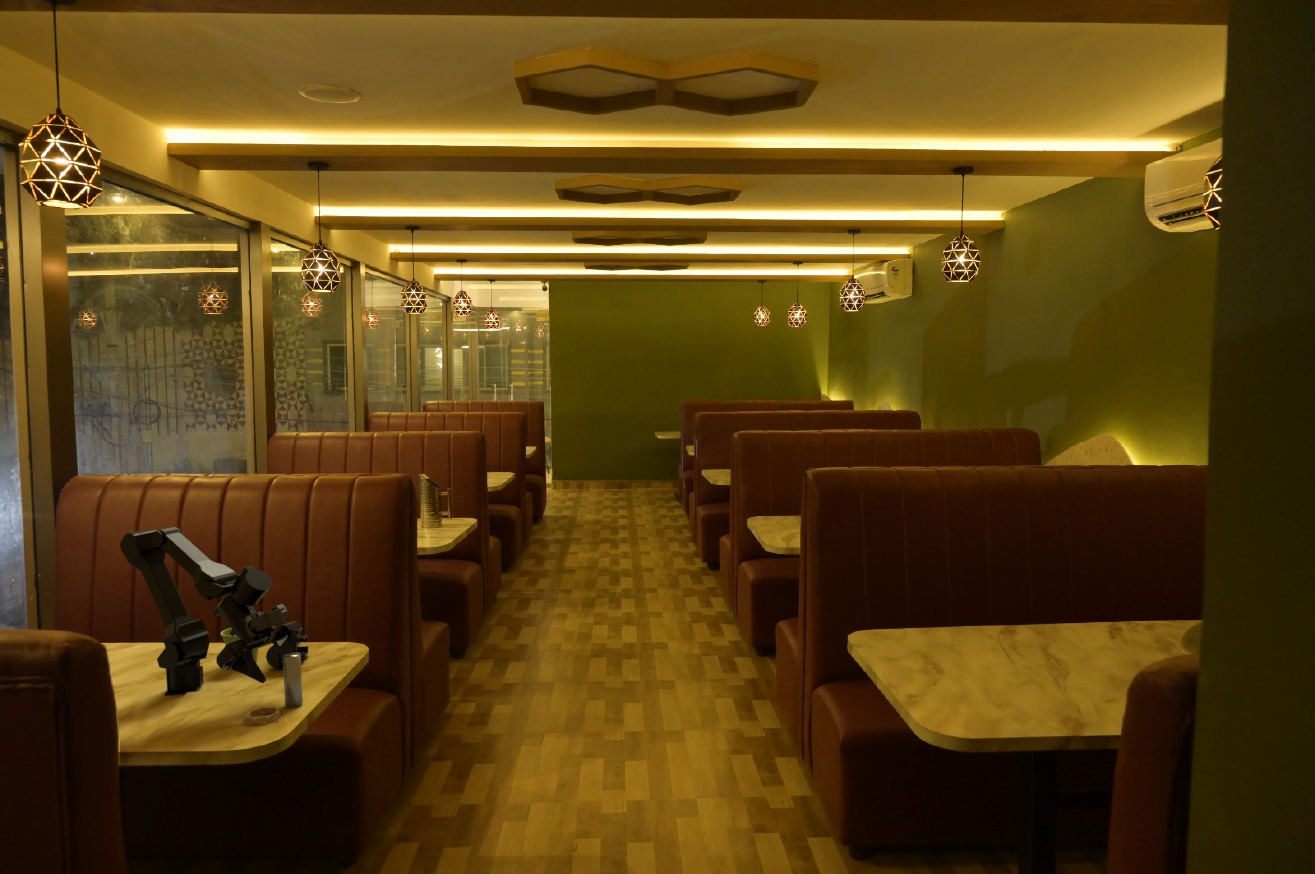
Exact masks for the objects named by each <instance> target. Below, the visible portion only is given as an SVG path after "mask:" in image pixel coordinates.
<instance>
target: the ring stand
mask: <svg viewBox="0 0 1315 874" xmlns="http://www.w3.org/2000/svg"><path fill="white" fill-rule="evenodd" d="M284 711H285V710H284V709H283V710H281V708H280V707H277V706H274V705H268V706H260V707H256V708H254V709H251V710H249V711H247V712H246V713H245V715H244V719H245V720H244V722H242V725H241V727H248V726H257V725H258V726H259V725H269V724H278V723H279V721H280V720H281V717H282V715H283V713H284Z"/></svg>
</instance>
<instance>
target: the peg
mask: <svg viewBox="0 0 1315 874" xmlns="http://www.w3.org/2000/svg"><path fill="white" fill-rule="evenodd" d="M282 672H283V689H284V690H283V691H284V708H285V709H288V710H292V709H297V708H301V707H302V706H303V705H304V701H303V700H304V699H303V697H304V696H303V680H302V679H303V675H302V665H301V654H300V653H289V654H285V655H284V656H283V670H282Z"/></svg>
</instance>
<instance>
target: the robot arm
mask: <svg viewBox="0 0 1315 874" xmlns="http://www.w3.org/2000/svg"><path fill="white" fill-rule="evenodd" d="M119 549H120V550H121V552H122V554H123V556H124V557H125V559H126V561H127V562H128V564H129V565H131V566H133V567H134V568H136V569H138V570H139V571H140V572H141V573H142V576H143V578H144V581H145V583H146V585H147V587H148V589H149V591H150V595H151V596H152V598H153V600H154V603H155V605H156V607H157V609H158V612H159V615H160V616H161V619H162V621H163V623H164V626H165V629H164V635H163V639H162V640H163V644H164V649H163V650H162V651H161V653H160V654H159V655H158V656H157V658H156V662H157V664H158V668H160V669H163V670H164V669H165V674H166V676H165V677H166V690H165V691H164V692H163V693H164V695H165V696H169V695H179V694H187V693H195V692H197V691H198V690H199V689H200V688H201V687H202V686H203V684H204V667H203V665H201V660H204V659H207V656H208V652H209V648H210V643H211V642H210V633H209V632H208V631H207V629H206V626H205V622H204V621H203V620H202V619H201V618H200V619H196V620H195V619H193V618H192V617H191V616H190V615H189V613H188V610H187V609H186V607H185V604H184V601H183V600H182V598H181V594H180V593H179V590H178V589H177V586H176V584H175V582H174V579H173V578H172V575H171V572H170V571H169V569H168V566H167V564H166V556H167V555H168V557H170V558H171V559H172V560H174V561H175V562H176V563H177V564H178V565H179V566H180V567H181V568H182V569H183V570H184V571H186V573H188V574H189V575H190V576H191V577H192V578H193V587H194V588H195V590H196V591H197V593H199V595H200V596H201V597H202V598H203V599H204V600H206V601H213V600H216V599H220V598H223V599H222V600H221V601H219V602H216V603H215V605H214V610H213V612H212V613H213V616H214V617H217V616H221V615H222V617H223V618H224V619H225V620H226V622H227V623H228V625H229V628H232V631H231V632H230V634H231V636H235V635H237V637H238V638H239V640H238V641H235V642H232V643H229V644H227V645H225V646H224V647H223V649H221V650H220V652H218V654H217V655H216V660H215V661H216V664H217V666H218V667H219V669H220V670H225V669H226V670H228V671H235V672H237V673H240V674H242V675H244V676H247V677H249V678H250V679H253V680H254V681H257V682H259V683H261V684H264V683H266V681H267V679H266V676H265V675H264V672H263V671H262V670H261V668H260V666H258V664H257V662H255V661H254V659H253V654H252V651H253V650H256V649H258V650H259V649H261V648H264V647H266V646H269V645H273V644H274V646H276V647H279V648H278V649H277V651H278V652H279V653H280V654H281V655H282V656H284V655H285V654H289V653H297V649H296V639H297V637H298V636H299V635H301V634H300V633H301V631H302V630H303V626H302V625H301V624H300V623H299V621H296V620H292V621H290V622H287V623H285V622H286V618H288V617H289V616H290V615H289V610H288V609H287V607H286V606H285V605H284V604H283V603H281V604H278V605H275V606H273V607H272V608H271V611H267V612H265V613H264V612H263V611H261V610H260V611H256V609H255V607H253V606H255V605H257V604H258V603H259V601H260V600H261V599H262V598H263V596H265V594H266V593H267V592H268V591H269V589H270V588H271V587H272V584H273V581H272V578H271V576H270V575H269V574H267V573H266V572H264V571H263V570H259V569H255V567H254V566H253V565H251V566H247V567H244V568H243V570H242V571H241V572H240V574H237V572H236V571H235V570H233V569H231V567H228V566H227V565H225V564H222V563H218V562H214V561H213V560H211V559H210V558H209V557H207V555H205V554H204V553H203V552H202V551H201V550H200V549H199V548H198V547H196V546H195V544H193V542H191V541H190V540H189V539H188V538H186V536H184V535H183V532H182V531H181V529H180V528H178V527H175V526H174V527H173V526H171V527H170V526H169V527H166V528H159V529H156V528H150V529H149V528H148V529H142V530H139V531H138V530H137V531H133V532H127V533H126V534H124V535H123V537H122V539H121V541H120V543H119ZM281 623H282V624H281ZM279 624H281V625H280V626H279V627H278V629H277V630H276V628H277V627H276V626H277V625H279ZM275 630H276V631H275ZM274 631H275V632H274ZM272 632H274V633H272Z"/></svg>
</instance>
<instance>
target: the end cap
mask: <svg viewBox="0 0 1315 874" xmlns="http://www.w3.org/2000/svg"><path fill="white" fill-rule="evenodd" d="M308 641H309V636H308V635H307V634H299V636H298V637H297V639H296V649H297V653H300V654H301V666H302V665H304V663H305V662H306V661H307V660H308V659H307V658H309V656H308V653H309V645H305V646H299V645H300V644H301V643H306V642H307V643H308ZM278 648H279V647H276V646H274V644H273V643H272V644H271V646H270V647H269V648H268V649H267V651H266V654H265V658H266V659H265V660H266V662H267V663H268V665H269V666H270V667H271V668H274V669H275V670H277V671H280V670H282V671H283V656H282V655H281V654H280V653H279V652H278V651H277V649H278ZM305 660H306V661H305ZM304 661H305V662H304Z"/></svg>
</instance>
